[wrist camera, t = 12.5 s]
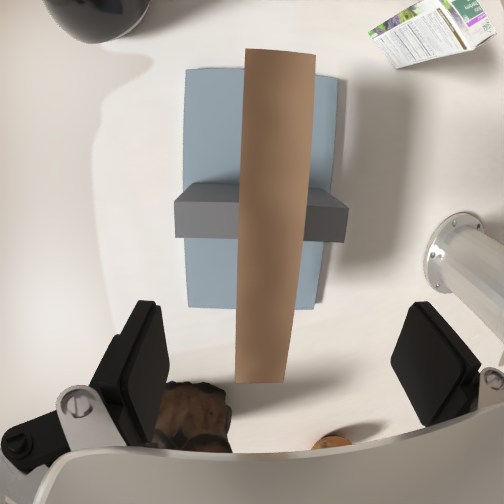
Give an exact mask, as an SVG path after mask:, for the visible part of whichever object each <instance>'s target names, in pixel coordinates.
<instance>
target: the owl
mask: <svg viewBox="0 0 504 504" xmlns="http://www.w3.org/2000/svg"><path fill="white" fill-rule="evenodd" d="M225 396H226V393H225V391H224V390H222V389H219V388H218V387H216V386H213V385H211V384H209V383H205V382H201V383H198V384H192V383H190V382H184V383H176V382H174V381H170V382H168V383H166V385H165V389H164V393H163V397H162V401H161V405H160V409H159V413H158V417H157V422H156V426H155V430H154V435H153V439H152V442H151V443H146V448H157V449H169V450H179V451H191V452H207V453H233V452H232V449H231V447H230V444H229V442H228V438H227V433H228V431H229V428H230V423H231V416H232V411H231V408H230V407H229V406H228V405H226V403H225Z"/></svg>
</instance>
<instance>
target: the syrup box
mask: <svg viewBox="0 0 504 504" xmlns="http://www.w3.org/2000/svg"><path fill="white" fill-rule="evenodd" d="M368 34H369V36H370V37H371V38H372V39H373V40H374V41H375V43H376V44H377V45H378V46H379V48H380V49H381V50H382V51H383V53H384V54H385V55H386V56H387V58H388V59H389V60H390V61H391V63H392V64H393V65H394V67H395V68H396V69H399V68H403V67H406V66H410V65H413V64H417V63H421V62H425V61H428V60H432V59H436V58H441V57H445V56H450V55H454V54H459V53H463V52H468V51H473V50H474V49H476V48H477V47H479V46H480V45H482V44H484V43H485V42H487V41H488V40H490V39H491V38H492V37H493V36H495V35H496V34H497V33H496V30H495V28H494V26H493V25H492V23H491V21H490V19H489V17H488V15H487V14H486V12H485V10H484V9H483V7H482V6H481V4H480V3H479V2H478V0H422V1H420V2H418V3H416V4H414V5H412V6H410V7H409V8H407V9H405V10H403V11H402V12H400V13H398V14H397V15H395V16H394V17H392V18H390V19H389V20H387V21H385V22H384V23H382V24H381V25H379V26H377V27H376V28H374V29H373V30H371V31H370V32H368Z"/></svg>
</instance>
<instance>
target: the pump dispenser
mask: <svg viewBox="0 0 504 504" xmlns="http://www.w3.org/2000/svg"><path fill="white" fill-rule="evenodd" d="M43 3H44V5H45V7H46V9H47V11H48V12H49V14H50V15H51V17H52V18H53V19H54V20H55V22H56V23H57V24H58V25H59V26H60V27H61V28H62V29H63V30H64V31H65V32H67V33H68V34H69V35H70V36H72V37H73V38H75V39H76V40H78V41H81V42H84V43H88V44H97V43H102V42H107V41H111V40H115V39H117V38H120V37H122V36H123V35H125V34H127V33H128V32H130V31H131V30H132V29H134V28H135V27H136V26H137V25H138V24H139V23H140V21H141V20H142V19H143V17H144V16H145V14H146V12H147V9H148V7H149V3H150V0H43Z"/></svg>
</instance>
